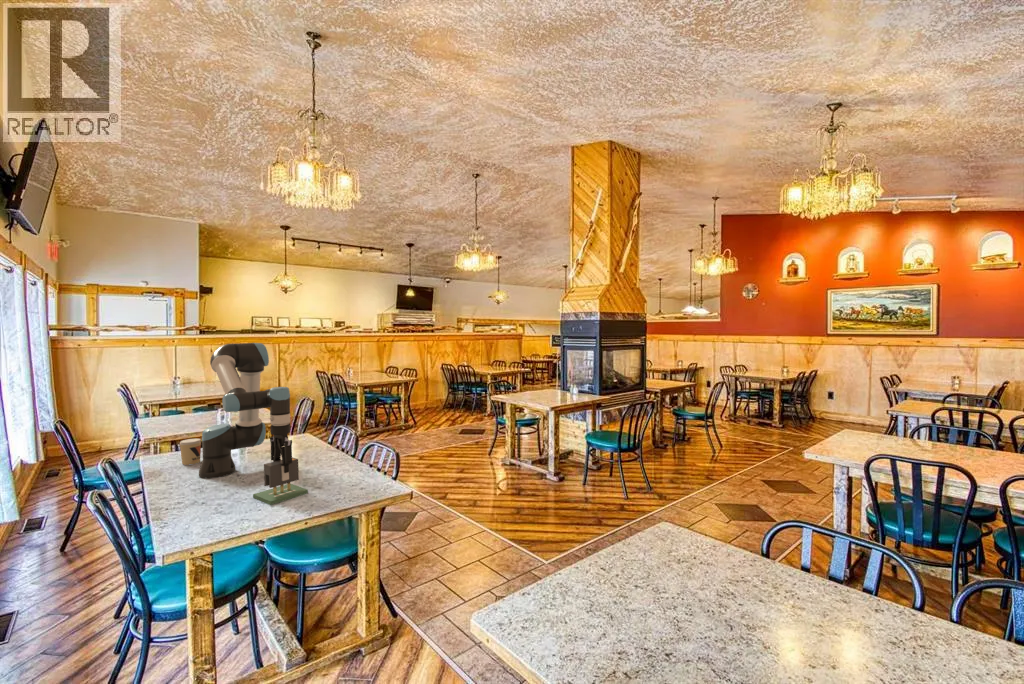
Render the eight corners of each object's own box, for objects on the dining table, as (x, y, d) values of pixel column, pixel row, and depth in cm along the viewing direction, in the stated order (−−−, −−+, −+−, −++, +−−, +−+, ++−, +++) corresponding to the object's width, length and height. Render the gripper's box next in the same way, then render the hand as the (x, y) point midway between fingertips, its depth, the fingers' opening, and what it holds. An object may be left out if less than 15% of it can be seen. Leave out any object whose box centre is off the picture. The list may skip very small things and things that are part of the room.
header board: (253, 497, 191) (252, 484, 190) (290, 486, 204) (290, 474, 203) (270, 505, 183) (270, 491, 182) (307, 493, 196) (307, 480, 195)
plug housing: (264, 485, 189) (263, 464, 189) (292, 477, 199) (291, 457, 198) (270, 488, 186) (270, 466, 186) (298, 479, 196) (298, 458, 196)
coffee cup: (193, 465, 236) (193, 442, 236) (175, 465, 236) (175, 442, 236) (206, 460, 245) (205, 438, 245) (188, 460, 245) (188, 438, 245)
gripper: (260, 423, 194) (261, 477, 194) (283, 428, 183) (284, 485, 184) (278, 420, 200) (279, 472, 201) (300, 424, 189) (302, 480, 190)
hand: (281, 478), depth 192 cm, fingers closed on plug housing, 5 cm apart
